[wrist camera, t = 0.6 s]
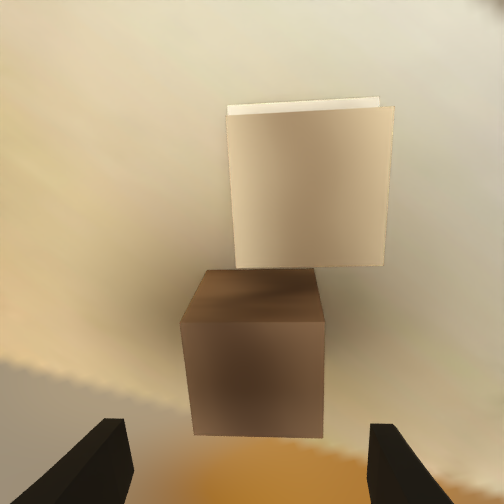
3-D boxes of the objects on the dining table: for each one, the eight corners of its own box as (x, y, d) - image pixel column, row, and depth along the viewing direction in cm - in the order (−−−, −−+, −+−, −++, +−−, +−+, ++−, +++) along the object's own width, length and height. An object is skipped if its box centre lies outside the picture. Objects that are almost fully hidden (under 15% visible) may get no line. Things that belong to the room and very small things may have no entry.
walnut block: (313, 267, 17) (324, 322, 12) (313, 359, 19) (323, 438, 14) (207, 269, 18) (179, 322, 13) (215, 358, 19) (194, 435, 14)
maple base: (365, 111, 15) (394, 106, 11) (360, 232, 16) (383, 265, 12) (239, 117, 15) (225, 115, 11) (246, 235, 17) (235, 268, 13)
